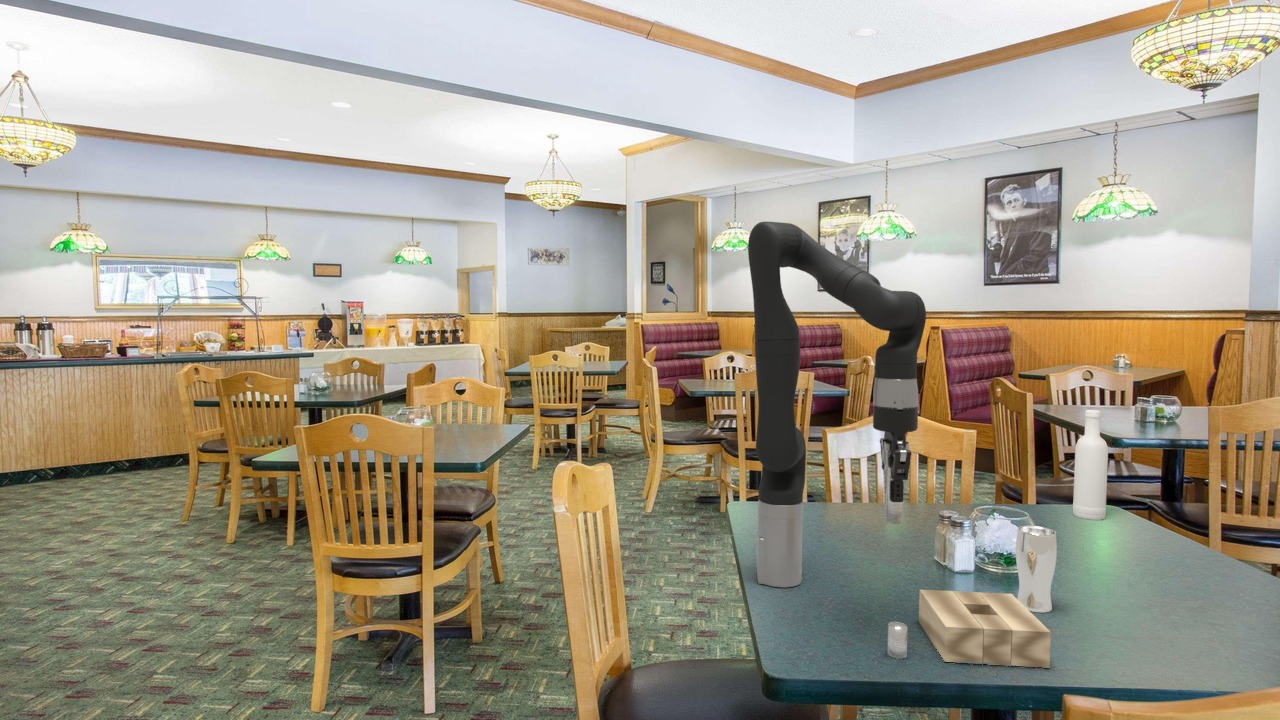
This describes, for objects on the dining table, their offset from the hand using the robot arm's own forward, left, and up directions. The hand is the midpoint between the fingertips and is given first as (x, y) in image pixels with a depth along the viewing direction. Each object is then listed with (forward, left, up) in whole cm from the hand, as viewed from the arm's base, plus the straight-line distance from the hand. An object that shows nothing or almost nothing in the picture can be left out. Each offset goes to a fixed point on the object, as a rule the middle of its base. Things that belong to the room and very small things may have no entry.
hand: (894, 498), depth 129 cm
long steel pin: (0, 0, -4) cm, 4 cm away
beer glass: (+29, +13, -24) cm, 40 cm away
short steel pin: (-2, -11, -23) cm, 26 cm away
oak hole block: (+13, -5, -23) cm, 28 cm away
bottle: (+71, +82, -24) cm, 111 cm away
